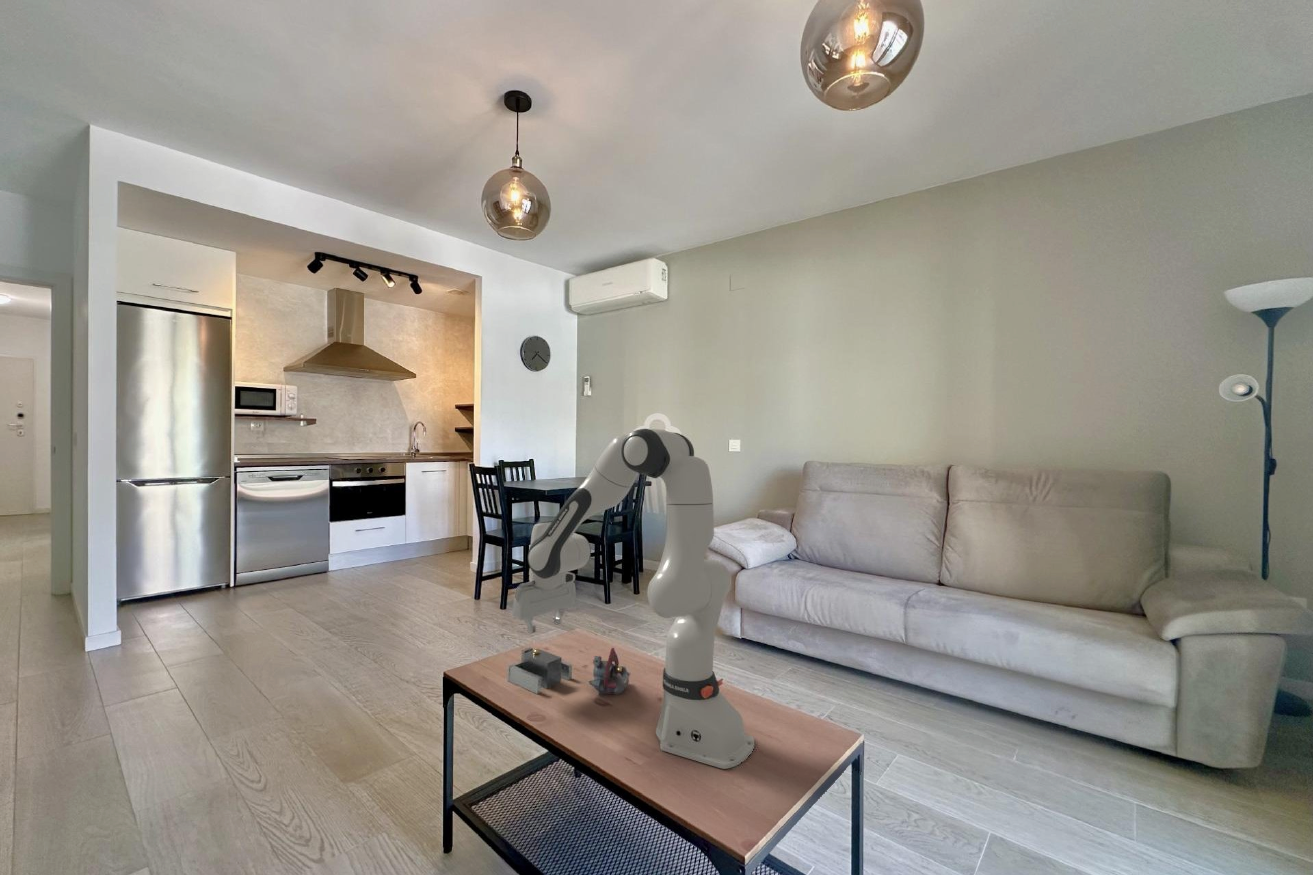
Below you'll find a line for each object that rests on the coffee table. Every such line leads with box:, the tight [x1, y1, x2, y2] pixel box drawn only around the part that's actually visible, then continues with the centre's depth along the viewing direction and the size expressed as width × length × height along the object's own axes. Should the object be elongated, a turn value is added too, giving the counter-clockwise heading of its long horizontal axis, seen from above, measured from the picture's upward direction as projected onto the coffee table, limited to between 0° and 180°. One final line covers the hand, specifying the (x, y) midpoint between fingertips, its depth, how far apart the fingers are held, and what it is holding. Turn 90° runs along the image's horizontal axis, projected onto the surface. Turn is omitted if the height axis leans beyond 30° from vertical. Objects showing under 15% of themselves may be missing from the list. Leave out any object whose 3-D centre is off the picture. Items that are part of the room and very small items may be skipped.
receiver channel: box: [506, 646, 573, 695], centre depth 147 cm, size 13×12×7 cm
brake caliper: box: [588, 647, 630, 695], centre depth 143 cm, size 11×11×12 cm
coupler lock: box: [523, 648, 563, 690], centre depth 146 cm, size 10×5×8 cm, turn 53°
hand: (544, 628), depth 146 cm, fingers open, 8 cm apart
